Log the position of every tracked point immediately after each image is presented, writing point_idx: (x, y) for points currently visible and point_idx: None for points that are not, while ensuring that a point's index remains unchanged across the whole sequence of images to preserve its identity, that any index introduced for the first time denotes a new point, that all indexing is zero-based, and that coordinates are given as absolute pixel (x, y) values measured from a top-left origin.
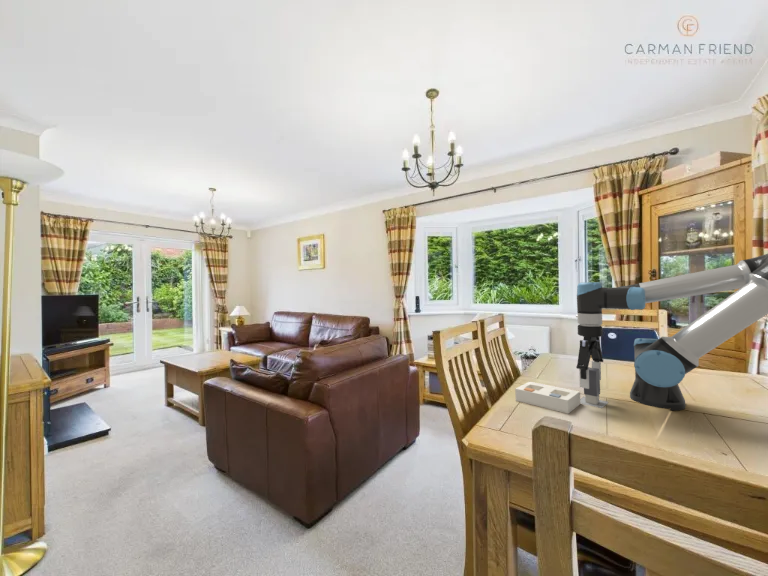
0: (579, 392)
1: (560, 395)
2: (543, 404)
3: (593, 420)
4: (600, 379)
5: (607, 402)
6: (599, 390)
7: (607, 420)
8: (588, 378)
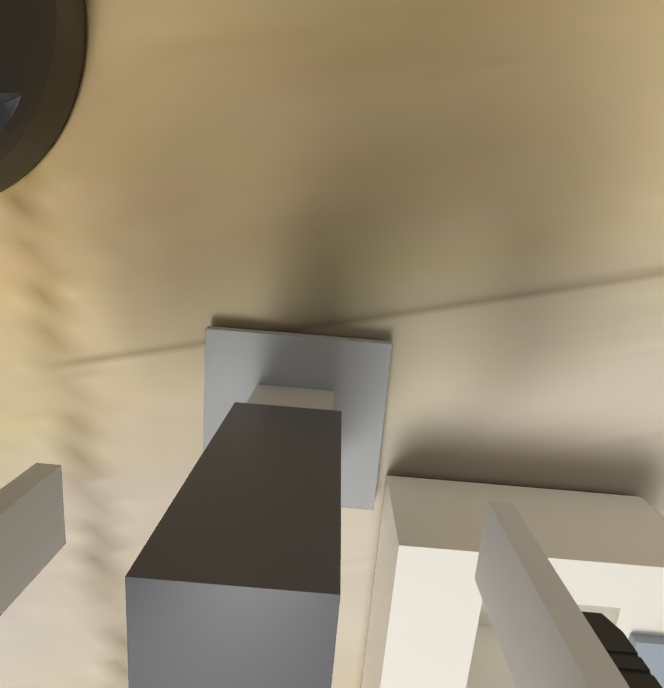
0: (411, 542)
1: (651, 643)
2: None
3: (634, 353)
4: (50, 468)
5: (226, 333)
6: (249, 418)
7: (582, 277)
8: (564, 592)
